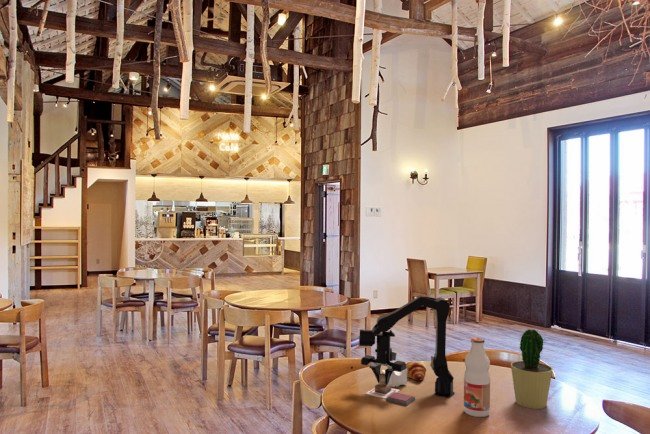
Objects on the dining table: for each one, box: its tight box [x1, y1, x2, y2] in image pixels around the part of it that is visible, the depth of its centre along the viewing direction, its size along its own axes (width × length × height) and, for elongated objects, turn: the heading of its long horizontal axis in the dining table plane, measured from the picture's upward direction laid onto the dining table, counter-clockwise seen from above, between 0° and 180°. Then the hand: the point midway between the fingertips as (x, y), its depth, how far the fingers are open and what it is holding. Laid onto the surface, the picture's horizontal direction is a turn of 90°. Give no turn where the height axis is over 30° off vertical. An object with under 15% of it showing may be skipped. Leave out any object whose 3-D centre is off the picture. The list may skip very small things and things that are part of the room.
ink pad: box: [385, 392, 416, 407], centre depth 201 cm, size 9×8×2 cm
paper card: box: [365, 387, 401, 400], centre depth 210 cm, size 10×12×1 cm
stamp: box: [374, 372, 392, 394], centre depth 210 cm, size 5×5×7 cm
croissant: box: [406, 361, 427, 382], centre depth 233 cm, size 21×10×8 cm, turn 4°
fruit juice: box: [463, 336, 491, 418], centre depth 189 cm, size 9×9×28 cm
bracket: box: [381, 369, 408, 388], centre depth 224 cm, size 13×7×8 cm, turn 12°
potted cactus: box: [510, 328, 553, 410], centre depth 199 cm, size 15×15×30 cm
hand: (383, 383), depth 210 cm, fingers closed on stamp, 3 cm apart
